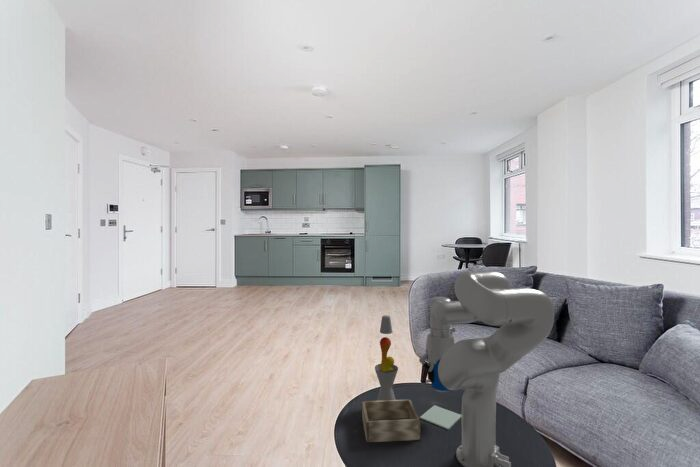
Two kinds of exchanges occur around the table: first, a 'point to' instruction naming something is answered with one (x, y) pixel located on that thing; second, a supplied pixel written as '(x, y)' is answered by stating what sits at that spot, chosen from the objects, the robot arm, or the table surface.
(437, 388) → the beverage can
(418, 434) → the box
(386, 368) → the lava lamp
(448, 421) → the green mat
